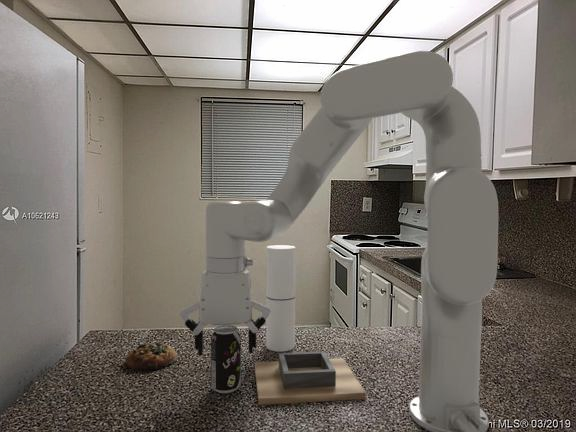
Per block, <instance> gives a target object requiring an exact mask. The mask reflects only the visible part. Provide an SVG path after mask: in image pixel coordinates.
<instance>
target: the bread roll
mask: <svg viewBox="0 0 576 432" xmlns="http://www.w3.org/2000/svg"><path fill="white" fill-rule="evenodd" d="M177 358H178V353H177V352H176V350H175V349H174V348H173V347H172V346H170V345H168V344H165V343H164V344H162V343H159V342H155V343H150V342H148V343H143V344H139V345H138V346H137V347H136V348H134V349H133V350H131V351H130V352H129V353H127V355H126V358H125V365H126V366H128V368H130V369H131V370H134V371H138V372H151V371H155V370H159V369H160V370H161V369H164V368H165V367H168V366H169V364H171V365H172V364H174V363H175V362H176V361H177Z"/></svg>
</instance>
